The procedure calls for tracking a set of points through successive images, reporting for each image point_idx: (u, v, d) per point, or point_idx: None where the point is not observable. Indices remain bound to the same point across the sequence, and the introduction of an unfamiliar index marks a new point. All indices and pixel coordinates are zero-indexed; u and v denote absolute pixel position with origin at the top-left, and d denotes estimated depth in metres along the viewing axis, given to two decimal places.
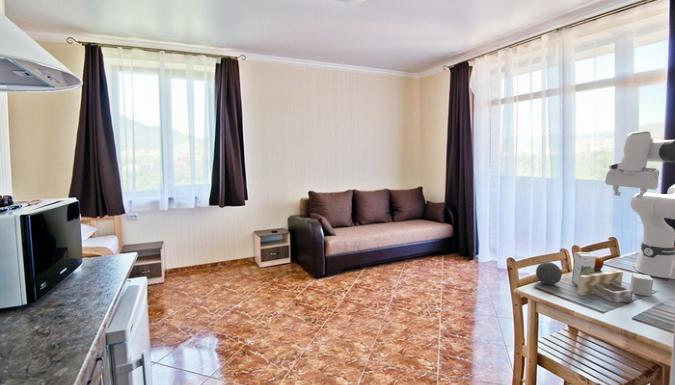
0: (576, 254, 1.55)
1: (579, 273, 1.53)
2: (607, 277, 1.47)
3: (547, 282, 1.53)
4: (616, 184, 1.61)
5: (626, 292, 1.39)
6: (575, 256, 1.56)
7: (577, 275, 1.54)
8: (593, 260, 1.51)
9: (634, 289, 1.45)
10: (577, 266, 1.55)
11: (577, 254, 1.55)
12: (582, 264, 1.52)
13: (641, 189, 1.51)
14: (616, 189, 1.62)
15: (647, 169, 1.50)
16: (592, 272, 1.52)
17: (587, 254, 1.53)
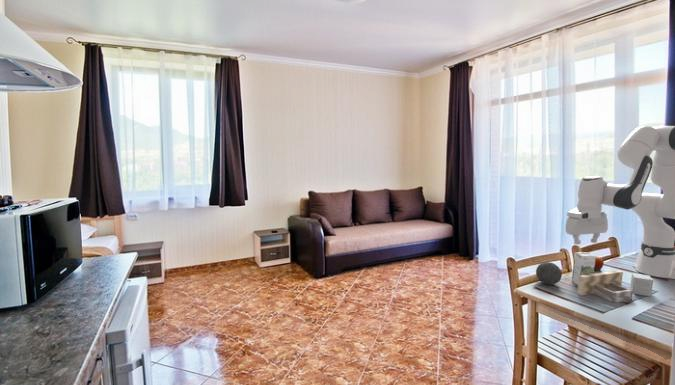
0: (576, 254, 1.55)
1: (579, 273, 1.53)
2: (607, 277, 1.47)
3: (547, 282, 1.53)
4: (582, 233, 1.49)
5: (626, 292, 1.39)
6: (575, 256, 1.56)
7: (577, 275, 1.54)
8: (593, 260, 1.51)
9: (634, 289, 1.45)
10: (577, 266, 1.55)
11: (577, 254, 1.55)
12: (582, 264, 1.52)
13: (598, 234, 1.53)
14: None
15: None
16: (592, 272, 1.52)
17: (587, 254, 1.53)
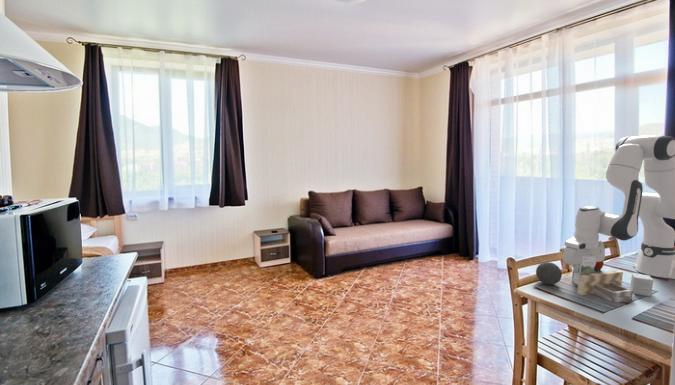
0: None
1: (579, 273, 1.53)
2: (607, 277, 1.47)
3: (547, 282, 1.53)
4: (579, 263, 1.51)
5: (626, 292, 1.39)
6: None
7: (577, 275, 1.54)
8: (593, 260, 1.51)
9: (634, 289, 1.45)
10: (577, 266, 1.55)
11: None
12: (582, 263, 1.52)
13: None
14: None
15: None
16: (592, 272, 1.52)
17: None
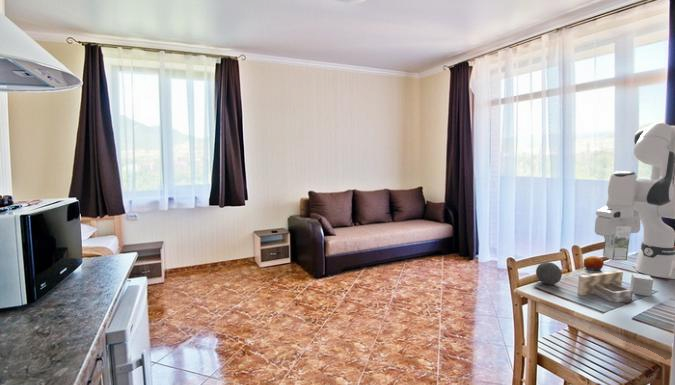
0: None
1: (612, 245, 1.39)
2: (607, 277, 1.47)
3: (547, 282, 1.53)
4: (613, 234, 1.37)
5: (626, 292, 1.39)
6: None
7: (610, 248, 1.40)
8: (628, 231, 1.36)
9: (634, 289, 1.45)
10: None
11: None
12: (616, 235, 1.37)
13: None
14: None
15: None
16: (627, 244, 1.37)
17: None
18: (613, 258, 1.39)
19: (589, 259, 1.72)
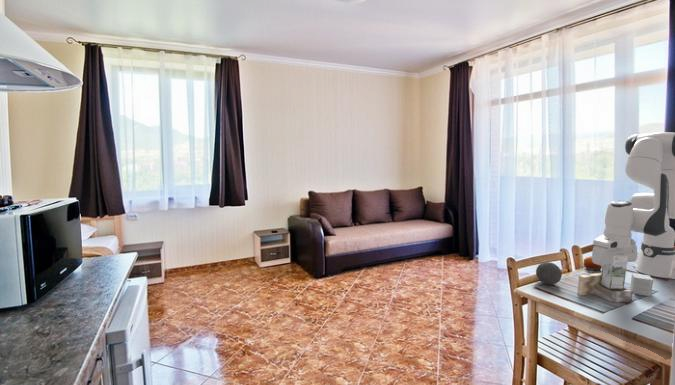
0: None
1: (609, 274, 1.40)
2: None
3: (547, 282, 1.53)
4: (610, 263, 1.38)
5: (626, 292, 1.39)
6: None
7: (607, 276, 1.41)
8: (625, 260, 1.38)
9: (634, 289, 1.45)
10: None
11: None
12: (613, 264, 1.39)
13: None
14: None
15: None
16: (624, 273, 1.39)
17: None
18: (610, 287, 1.40)
19: (589, 259, 1.72)
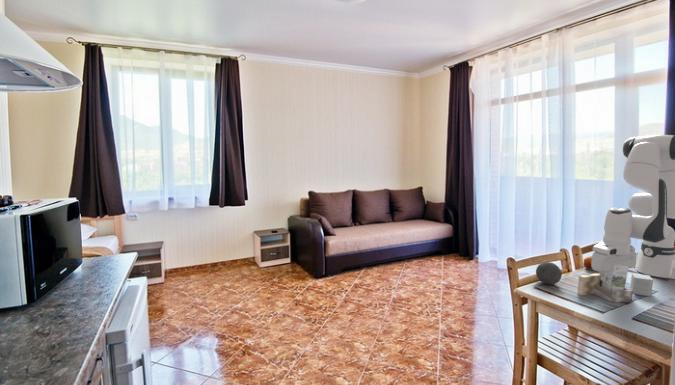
0: None
1: (609, 283, 1.41)
2: None
3: (547, 282, 1.53)
4: (609, 269, 1.39)
5: (626, 292, 1.39)
6: None
7: (607, 286, 1.42)
8: (626, 270, 1.39)
9: (634, 289, 1.45)
10: (607, 276, 1.42)
11: None
12: (614, 273, 1.39)
13: None
14: None
15: None
16: (624, 283, 1.40)
17: None
18: None
19: (589, 259, 1.72)
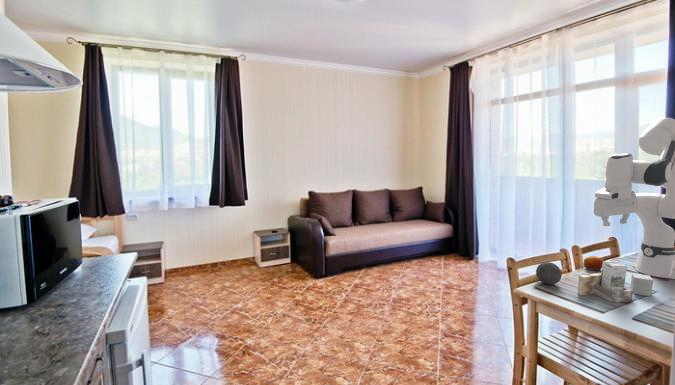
0: (605, 263, 1.43)
1: (609, 284, 1.41)
2: None
3: (547, 282, 1.53)
4: (611, 214, 1.42)
5: (626, 292, 1.39)
6: (603, 265, 1.44)
7: (607, 286, 1.42)
8: (624, 270, 1.39)
9: (634, 289, 1.45)
10: (606, 276, 1.42)
11: (606, 263, 1.42)
12: (612, 274, 1.39)
13: (628, 214, 1.45)
14: None
15: None
16: (623, 283, 1.40)
17: (617, 263, 1.41)
18: None
19: (589, 259, 1.72)
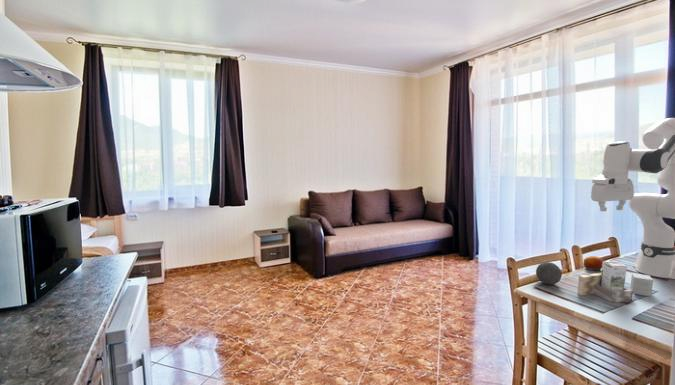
0: (605, 263, 1.43)
1: (609, 284, 1.41)
2: None
3: (547, 282, 1.53)
4: (608, 200, 1.47)
5: (626, 292, 1.39)
6: (603, 265, 1.44)
7: (607, 286, 1.42)
8: (624, 270, 1.39)
9: (634, 289, 1.45)
10: (606, 276, 1.42)
11: (606, 263, 1.42)
12: (612, 274, 1.39)
13: (624, 201, 1.50)
14: None
15: None
16: (623, 283, 1.40)
17: (617, 263, 1.41)
18: None
19: (589, 259, 1.72)
